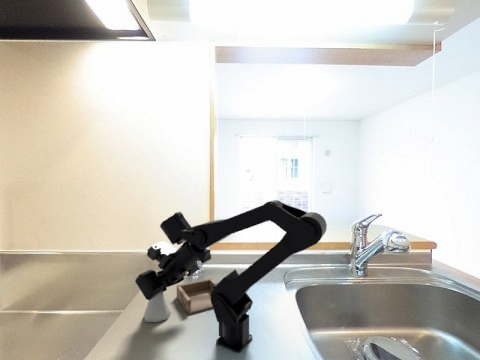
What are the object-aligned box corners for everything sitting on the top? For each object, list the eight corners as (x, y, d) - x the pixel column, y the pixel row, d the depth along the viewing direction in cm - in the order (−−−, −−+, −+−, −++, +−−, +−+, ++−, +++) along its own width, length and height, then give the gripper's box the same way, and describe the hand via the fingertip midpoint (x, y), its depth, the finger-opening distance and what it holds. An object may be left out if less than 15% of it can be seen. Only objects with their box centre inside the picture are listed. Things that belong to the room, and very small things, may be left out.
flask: (142, 325, 68) (141, 287, 67) (144, 310, 75) (144, 276, 74) (170, 321, 70) (170, 284, 69) (170, 307, 77) (170, 273, 76)
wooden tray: (227, 304, 78) (227, 292, 78) (188, 314, 73) (188, 302, 72) (211, 288, 89) (211, 278, 89) (176, 296, 83) (176, 285, 83)
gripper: (189, 226, 78) (160, 257, 83) (140, 242, 61) (109, 279, 66) (211, 256, 75) (180, 287, 80) (166, 281, 58) (131, 317, 63)
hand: (153, 291), depth 72 cm, fingers closed on flask, 3 cm apart
